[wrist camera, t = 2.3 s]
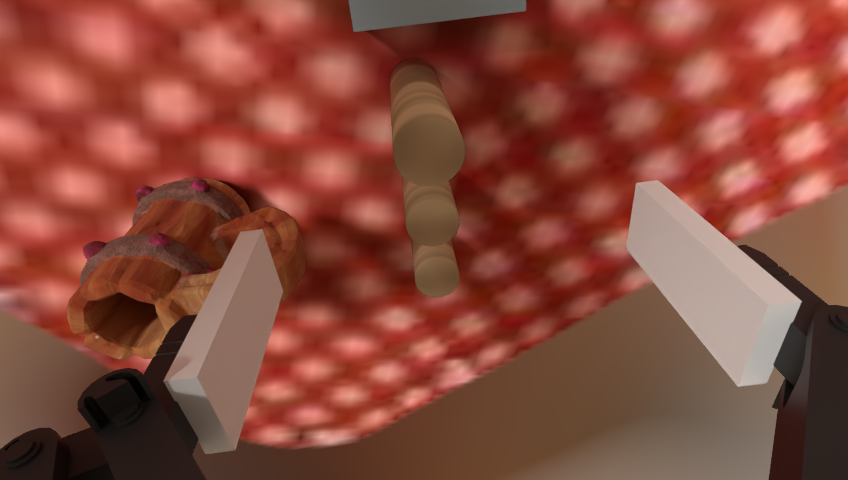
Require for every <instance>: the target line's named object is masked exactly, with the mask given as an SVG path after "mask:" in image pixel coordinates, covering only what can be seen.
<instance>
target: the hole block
mask: <svg viewBox="0 0 848 480" xmlns="http://www.w3.org/2000/svg"><path fill="white" fill-rule="evenodd" d="M348 1H349V7H350V13H351V19H352V24H353V30H354V32H359V31H367V30H375V29H383V28H392V27H400V26H408V25H416V24H424V23H433V22H441V21H449V20H457V19H465V18H473V17H482V16H490V15H498V14H506V13H514V12H522V11H526V0H348Z"/></svg>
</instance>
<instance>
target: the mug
mask: <svg viewBox="0 0 848 480" xmlns="http://www.w3.org/2000/svg"><path fill="white" fill-rule="evenodd" d="M135 195H136V198H137V200H138V201H139V204H138V206H137V208H136V210H135V212H134V216H133V226H132V228H131V229H130V230H129V231H128V232H127V233H126V234H125V235H124V236H123V237H120V238H117V239H115V240H112V241H110V242H108V243H104V242H100V241H94V242H91V243H88V244H86V245H85V246H84V247H83V252H84V255H85V257H86V258H87V259H88V260H87V263H86V265H85V267H84V268H83V270H82V272H81V277H80V284H81V286H80V287H79V289H78V290H77V291H76V292H75V294H74V295H73V296H72V297H71V298H70V300H69V303H68V305H67V308H66V309H67V318H68V322H69V325H70V327H71V330H72V332H73V333H74V334H83V335H85V340H84V344H83V346H85V347H88V348H90V349H93V350H95V351H98V352H100V353H103V354H106V355H108V356H111V357H113V358H116V359H126V358H128V357H131V356H133V355H137V356H140V357H141V358H144V359H153V357H154V356H156V352H157V350H158V348H159V347H160V345H162V341H163V340H164V338H165V336H166V334H167V333H168V331H169V329H170V328H171V327H172V326H173V325H174V324H175V323H176V322H177V321H179V320H180V319H181V318H182V317H183V316H187V315H195V314H198V313H199V311H200V309H201V307H202V305H203V303H204V301H205V300H206V298H207V296H208V294H209V292H210V290H211V288H212V286H213V284H214V282H215V280H216V278H217V276H218V274H219V272H220V270H221V269H222V267H223V265H224V263H225V261H226V259H227V257H228V255H229V253H230V251H231V249H232V247H233V245H234V243H235V241H236V240H237V238H238V236H239V234H240V232H243V231H251V230H259V229H263V232H264V235H265V238H266V241H267V244H268V247H269V250H270V253H271V256H272V259H273V262H274V265H275V268H276V271H277V274H278V277H279V280H280V283H281V286H282V289H283V293H282V297H281V300H280V303H281V302H282V301H283V300H284V299H285V298H286V297H287V296H288V295H289V294H290V293H291V292H292V291H293V290H294V288H295V287H296V286H297V284H298V283H299V282H300V280H301V279H302V277H303V275H304V272H305V271H306V262H307V257H306V250H305V247H304V243H303V240H302V237H301V234H300V231H299V228H298V226H297V222H296V220H295V219H294V218H293V217H291V216H290V215H288V214H287V213H286V212H284V211H281V210H279V209H276V208H272V207H269V206H268V207H264V208H261V209H258V210H256V211H254V212H252V213H250V209H249V207H248V205H247V204H246V202H245V201H244V199H243V198H242V197H241V196H240V195H239V194H238V193H237V192H236V191H235V190H233V189H232V188H231V187H229V186H228V185H226V184H224V183H222V182H219V181H217V180H215V179H205V178H198V177H196V178H185V179H182V180H180V181H176V182H172V183H168V184H164V185H162V186H160V187H157V188H155V189H154V188H152V187H148V186H141V187H139V188H137V191H136V194H135ZM280 303H279V304H280Z"/></svg>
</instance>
